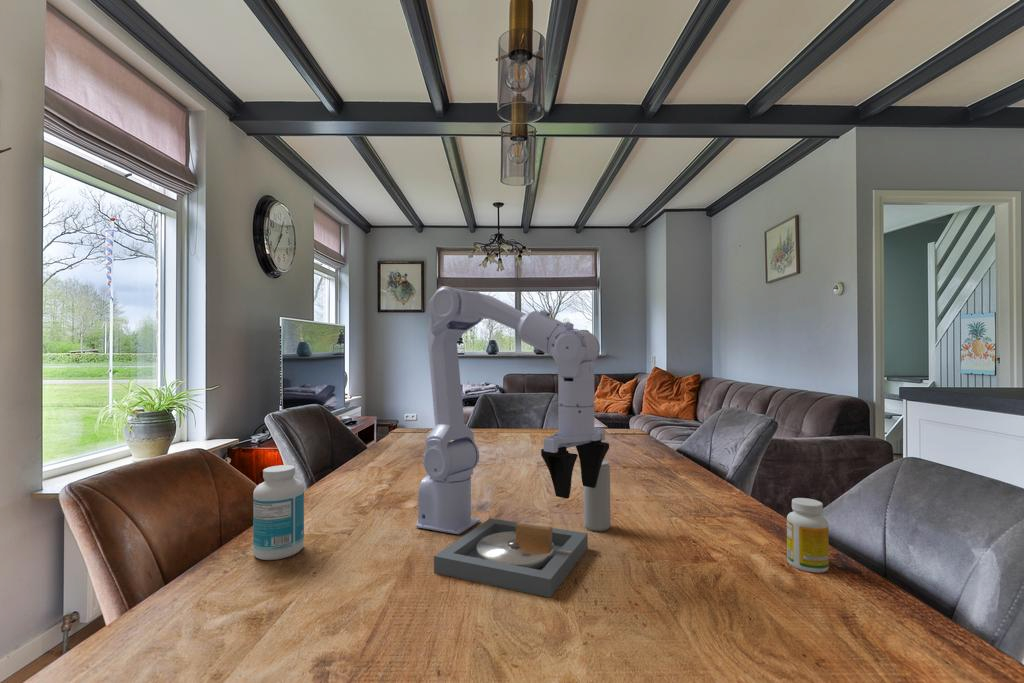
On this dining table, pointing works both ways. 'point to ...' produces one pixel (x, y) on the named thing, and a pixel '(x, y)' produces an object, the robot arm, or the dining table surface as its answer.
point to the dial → (519, 546)
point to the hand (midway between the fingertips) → (576, 491)
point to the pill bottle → (278, 514)
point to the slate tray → (539, 581)
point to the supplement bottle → (807, 536)
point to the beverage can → (598, 501)
